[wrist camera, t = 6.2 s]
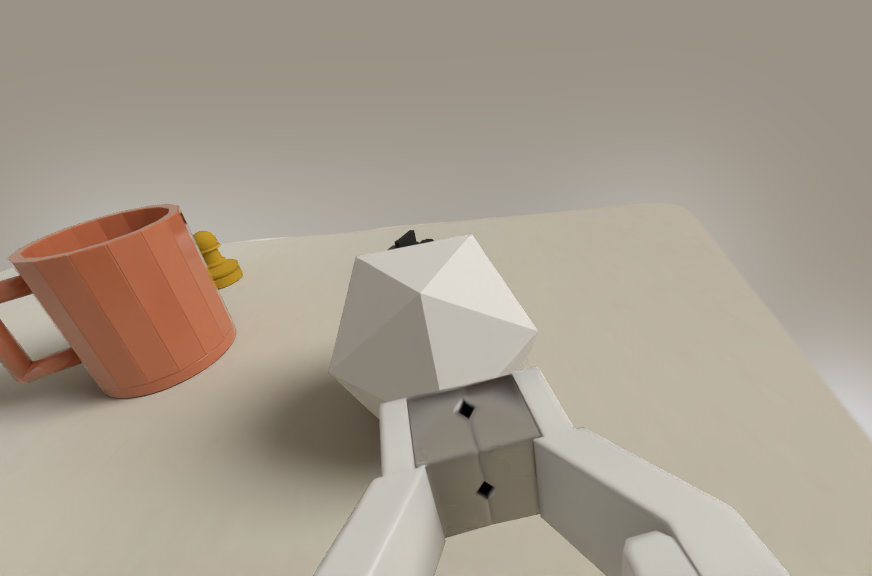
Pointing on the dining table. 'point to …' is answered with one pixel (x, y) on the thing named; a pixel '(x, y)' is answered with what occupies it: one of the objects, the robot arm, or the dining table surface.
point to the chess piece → (217, 260)
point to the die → (427, 323)
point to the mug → (121, 302)
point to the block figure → (408, 240)
